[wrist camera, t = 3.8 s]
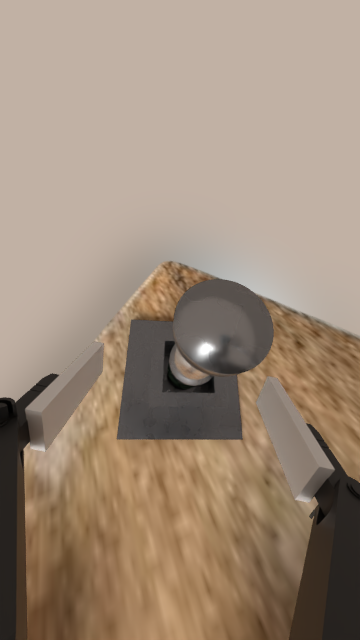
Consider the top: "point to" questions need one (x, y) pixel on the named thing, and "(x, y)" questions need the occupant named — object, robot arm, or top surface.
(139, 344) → the square socket stand
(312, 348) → the top surface
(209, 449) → the top surface
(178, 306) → the silver mushroom-headed rod
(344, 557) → the robot arm
